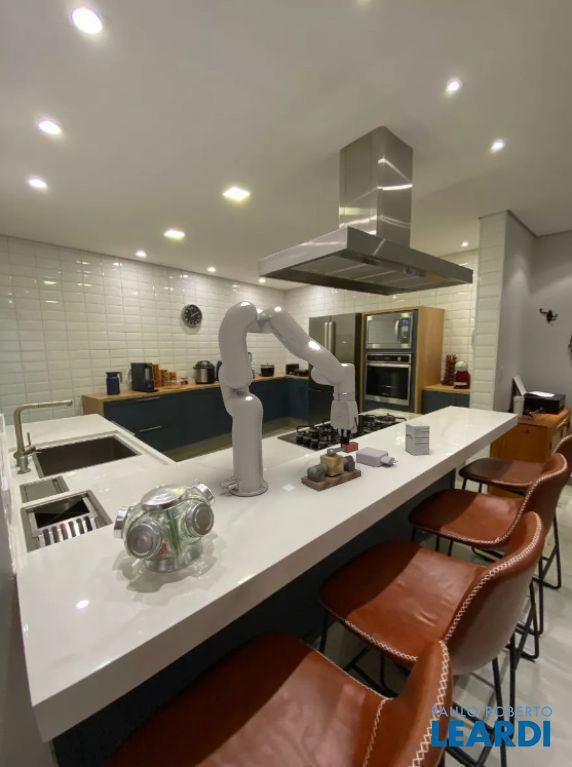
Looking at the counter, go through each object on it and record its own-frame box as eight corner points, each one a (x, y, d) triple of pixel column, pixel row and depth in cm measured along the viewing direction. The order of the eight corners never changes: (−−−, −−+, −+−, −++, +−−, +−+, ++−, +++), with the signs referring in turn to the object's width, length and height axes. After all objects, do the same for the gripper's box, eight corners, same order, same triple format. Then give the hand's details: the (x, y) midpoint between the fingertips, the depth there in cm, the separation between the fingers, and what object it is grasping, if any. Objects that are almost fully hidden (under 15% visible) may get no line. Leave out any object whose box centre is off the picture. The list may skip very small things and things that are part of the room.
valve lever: (331, 458, 110) (331, 450, 110) (325, 456, 112) (324, 448, 112) (358, 450, 118) (358, 442, 118) (352, 448, 120) (352, 441, 120)
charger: (391, 471, 120) (355, 463, 130) (402, 465, 126) (367, 457, 137) (391, 459, 119) (355, 451, 130) (402, 453, 126) (367, 446, 136)
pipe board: (319, 491, 103) (318, 462, 102) (301, 483, 110) (300, 456, 110) (361, 476, 115) (361, 450, 114) (342, 469, 122) (342, 445, 122)
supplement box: (404, 450, 144) (404, 422, 142) (420, 449, 144) (421, 421, 143) (413, 455, 136) (413, 426, 135) (429, 454, 137) (430, 425, 136)
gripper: (322, 396, 122) (323, 444, 124) (353, 400, 111) (353, 453, 112) (336, 394, 127) (337, 440, 128) (367, 397, 115) (367, 448, 117)
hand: (345, 446), depth 120 cm, fingers closed
